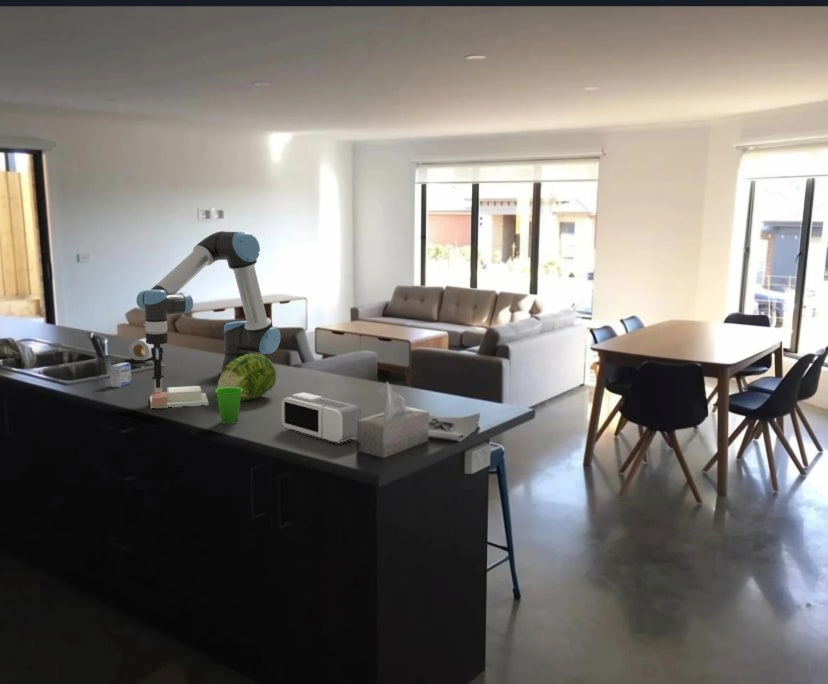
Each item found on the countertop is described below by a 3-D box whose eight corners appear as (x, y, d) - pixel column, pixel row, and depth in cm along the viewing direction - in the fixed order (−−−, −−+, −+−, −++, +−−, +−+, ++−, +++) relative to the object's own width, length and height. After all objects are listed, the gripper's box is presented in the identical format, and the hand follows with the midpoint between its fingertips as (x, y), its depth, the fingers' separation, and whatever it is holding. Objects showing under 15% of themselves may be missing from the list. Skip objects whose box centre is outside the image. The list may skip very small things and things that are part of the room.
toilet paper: (140, 356, 358) (139, 336, 356) (159, 357, 357) (159, 337, 355) (129, 360, 348) (128, 339, 347) (149, 361, 347) (148, 340, 345)
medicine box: (120, 387, 293) (119, 366, 292) (110, 386, 294) (109, 365, 293) (131, 383, 301) (130, 362, 299) (121, 382, 302) (121, 362, 300)
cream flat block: (200, 393, 281) (199, 385, 281) (201, 398, 273) (201, 390, 272) (167, 395, 277) (166, 387, 277) (167, 400, 269) (167, 392, 268)
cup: (218, 418, 252) (217, 386, 250) (245, 418, 252) (244, 387, 251) (213, 425, 243) (212, 393, 241) (241, 425, 244) (240, 393, 242)
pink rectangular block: (166, 399, 270) (165, 391, 270) (166, 405, 262) (166, 397, 261) (151, 400, 268) (151, 392, 268) (152, 406, 260) (151, 398, 260)
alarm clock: (281, 429, 240) (281, 394, 238) (302, 424, 247) (302, 389, 245) (340, 447, 223) (340, 409, 221) (361, 440, 230) (361, 404, 228)
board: (205, 395, 282) (205, 392, 282) (208, 405, 269) (208, 402, 268) (150, 399, 276) (150, 395, 275) (150, 408, 262) (150, 405, 262)
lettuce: (205, 401, 275) (204, 360, 269) (250, 381, 294) (251, 342, 287) (238, 417, 267) (238, 375, 260) (282, 396, 285) (284, 356, 279)
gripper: (145, 330, 271) (147, 392, 274) (145, 335, 259) (147, 400, 262) (166, 329, 273) (168, 391, 277) (167, 334, 261) (169, 399, 265)
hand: (158, 395), depth 270 cm, fingers closed
